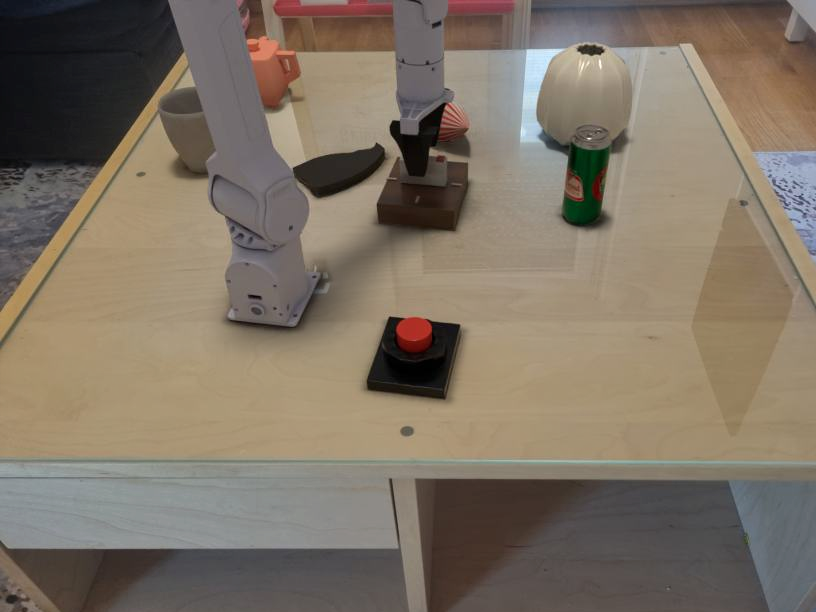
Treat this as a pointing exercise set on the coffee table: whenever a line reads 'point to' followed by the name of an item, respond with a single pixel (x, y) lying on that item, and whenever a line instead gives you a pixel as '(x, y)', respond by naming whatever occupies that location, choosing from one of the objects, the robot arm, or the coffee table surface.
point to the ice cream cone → (453, 122)
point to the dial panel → (423, 199)
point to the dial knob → (427, 172)
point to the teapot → (272, 69)
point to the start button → (414, 334)
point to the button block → (415, 362)
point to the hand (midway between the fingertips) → (422, 160)
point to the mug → (187, 127)
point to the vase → (584, 92)
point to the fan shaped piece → (339, 169)
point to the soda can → (586, 174)
